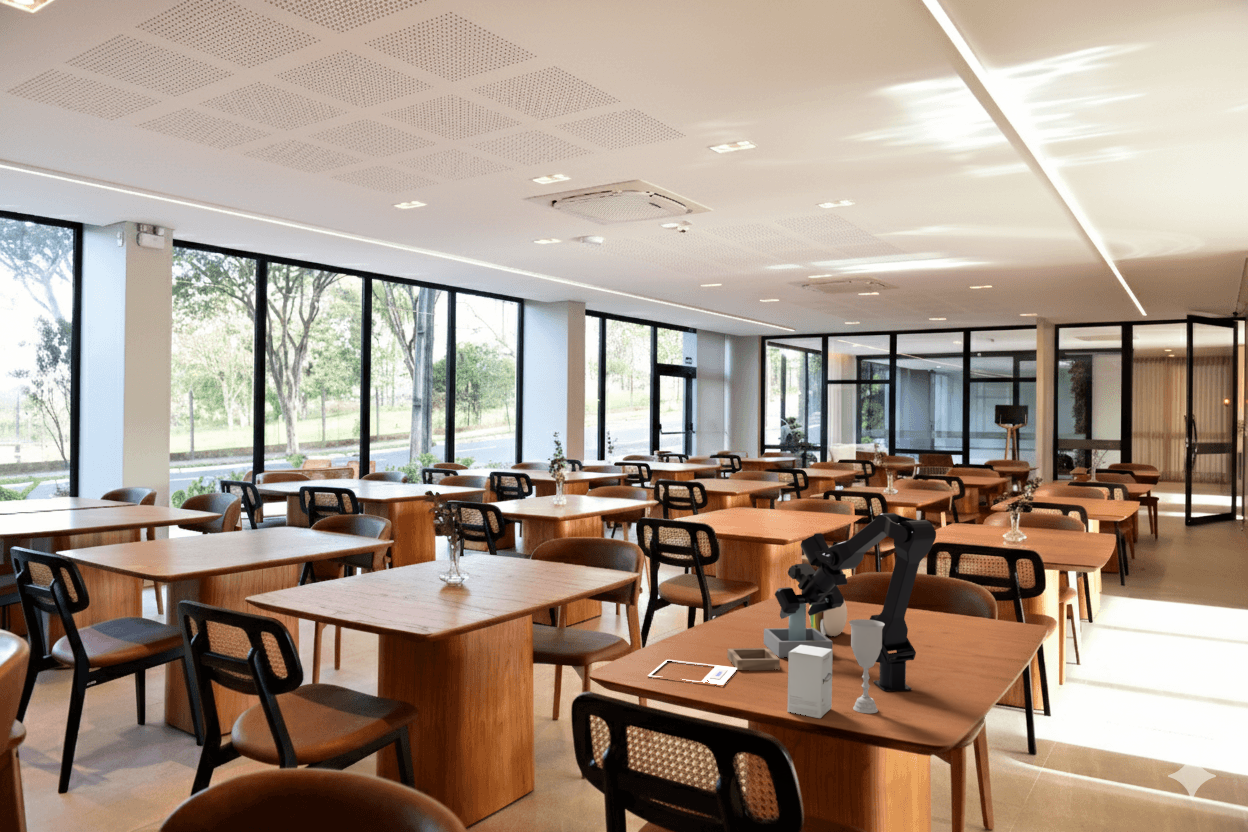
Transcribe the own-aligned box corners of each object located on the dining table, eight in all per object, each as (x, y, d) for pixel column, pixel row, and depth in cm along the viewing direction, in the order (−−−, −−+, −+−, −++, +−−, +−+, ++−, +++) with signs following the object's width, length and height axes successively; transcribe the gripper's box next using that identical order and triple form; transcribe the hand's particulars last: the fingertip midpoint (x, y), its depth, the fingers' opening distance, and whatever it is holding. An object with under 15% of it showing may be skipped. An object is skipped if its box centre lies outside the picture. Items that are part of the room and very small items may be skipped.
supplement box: (821, 719, 174) (822, 656, 174) (786, 712, 178) (787, 651, 178) (832, 709, 181) (833, 648, 181) (798, 702, 184) (799, 643, 184)
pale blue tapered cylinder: (803, 649, 223) (803, 600, 223) (786, 647, 225) (786, 599, 225) (807, 645, 227) (807, 597, 227) (791, 643, 229) (791, 596, 229)
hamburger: (832, 641, 236) (832, 597, 236) (805, 636, 241) (805, 593, 241) (852, 633, 245) (852, 591, 245) (825, 628, 250) (826, 587, 250)
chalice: (877, 703, 184) (878, 619, 184) (888, 714, 177) (889, 627, 177) (843, 703, 184) (844, 619, 184) (852, 714, 177) (854, 626, 177)
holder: (779, 669, 208) (779, 659, 208) (737, 670, 207) (737, 660, 207) (767, 657, 219) (767, 648, 219) (727, 658, 217) (727, 648, 217)
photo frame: (723, 684, 194) (647, 674, 201) (723, 689, 194) (647, 679, 201) (738, 666, 208) (666, 658, 214) (738, 671, 208) (666, 663, 214)
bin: (832, 657, 220) (832, 641, 220) (778, 657, 219) (778, 642, 219) (814, 642, 234) (814, 627, 234) (763, 643, 233) (763, 628, 233)
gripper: (837, 552, 227) (809, 587, 237) (779, 557, 218) (753, 592, 228) (857, 588, 220) (828, 622, 230) (799, 594, 211) (771, 629, 221)
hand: (795, 615), depth 227 cm, fingers open, 9 cm apart
